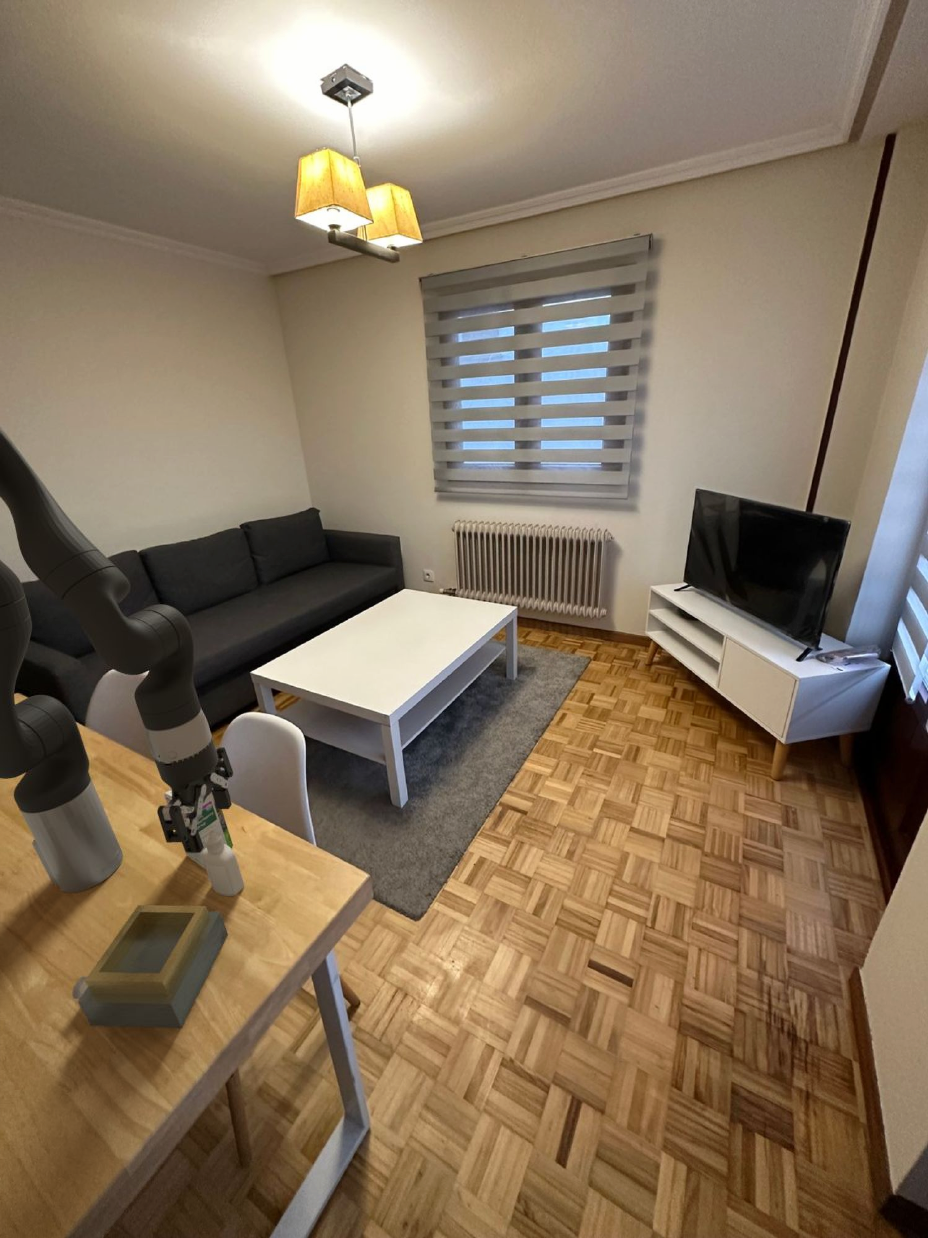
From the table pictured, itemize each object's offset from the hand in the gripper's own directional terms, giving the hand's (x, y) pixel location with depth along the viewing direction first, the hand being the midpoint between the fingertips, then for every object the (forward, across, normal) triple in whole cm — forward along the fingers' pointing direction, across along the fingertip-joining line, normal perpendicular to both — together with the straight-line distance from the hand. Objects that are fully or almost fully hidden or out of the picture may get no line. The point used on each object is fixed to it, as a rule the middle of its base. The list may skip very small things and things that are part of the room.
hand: (211, 828), depth 75 cm
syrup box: (+13, -7, -7) cm, 16 cm away
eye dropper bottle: (+13, 0, 0) cm, 13 cm away
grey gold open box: (+13, +14, -4) cm, 19 cm away
